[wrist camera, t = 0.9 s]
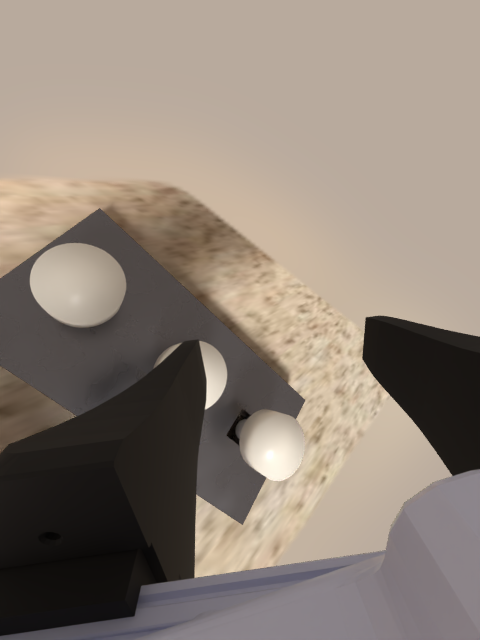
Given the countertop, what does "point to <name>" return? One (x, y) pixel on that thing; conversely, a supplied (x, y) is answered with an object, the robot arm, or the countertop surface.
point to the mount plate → (141, 356)
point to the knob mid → (207, 370)
